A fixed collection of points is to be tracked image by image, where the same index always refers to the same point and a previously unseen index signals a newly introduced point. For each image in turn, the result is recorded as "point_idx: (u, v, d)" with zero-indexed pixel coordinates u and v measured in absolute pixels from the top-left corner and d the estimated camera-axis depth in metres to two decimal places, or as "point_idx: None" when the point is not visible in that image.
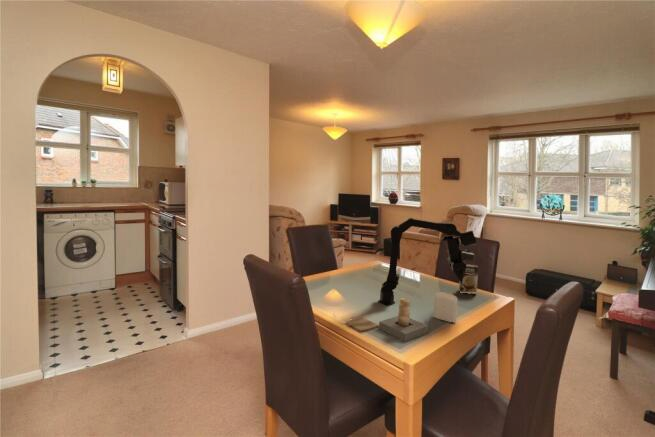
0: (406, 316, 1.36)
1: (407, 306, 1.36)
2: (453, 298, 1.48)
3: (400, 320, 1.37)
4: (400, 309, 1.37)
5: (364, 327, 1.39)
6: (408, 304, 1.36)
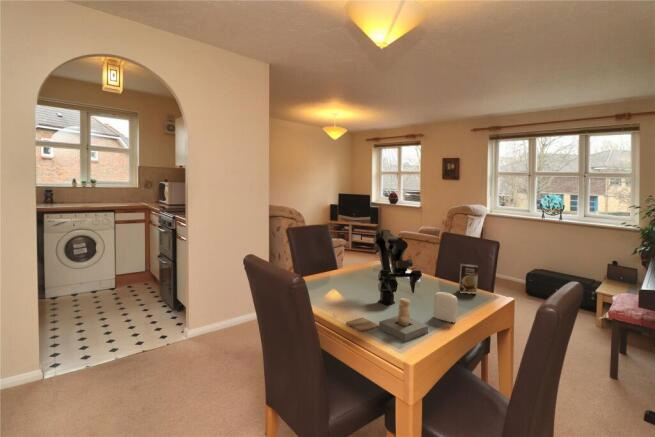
0: (406, 316, 1.36)
1: (407, 306, 1.36)
2: (453, 298, 1.48)
3: (400, 320, 1.37)
4: (400, 309, 1.37)
5: (364, 327, 1.39)
6: (408, 304, 1.36)
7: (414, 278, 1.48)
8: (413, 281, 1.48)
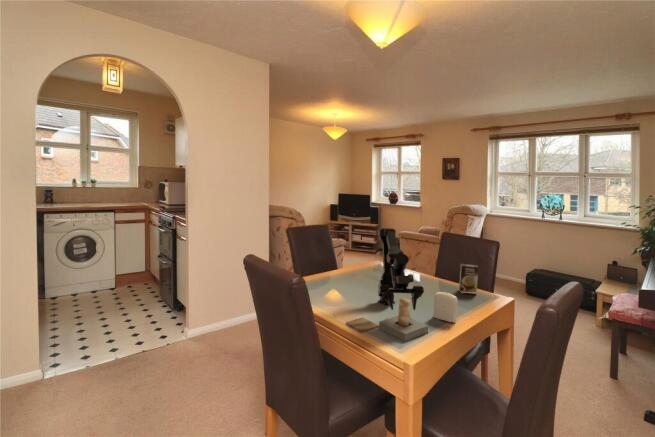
0: (406, 316, 1.36)
1: (407, 306, 1.36)
2: (453, 298, 1.48)
3: (400, 320, 1.37)
4: (400, 309, 1.37)
5: (364, 327, 1.39)
6: (408, 304, 1.36)
7: (415, 294, 1.41)
8: (414, 297, 1.41)
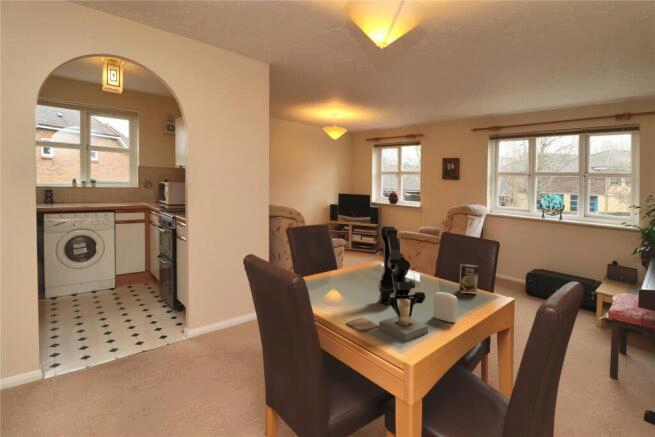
0: (406, 316, 1.36)
1: (407, 306, 1.36)
2: (453, 298, 1.48)
3: (400, 320, 1.37)
4: (400, 309, 1.37)
5: (364, 327, 1.39)
6: (408, 304, 1.36)
7: (412, 301, 1.39)
8: (411, 304, 1.39)
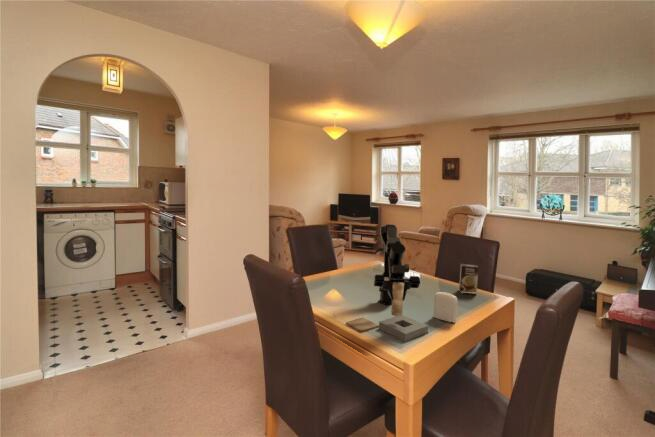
0: (399, 299, 1.35)
1: (400, 289, 1.35)
2: (453, 298, 1.48)
3: (393, 303, 1.36)
4: (393, 292, 1.36)
5: (364, 327, 1.39)
6: (401, 287, 1.35)
7: (406, 284, 1.38)
8: (405, 287, 1.38)
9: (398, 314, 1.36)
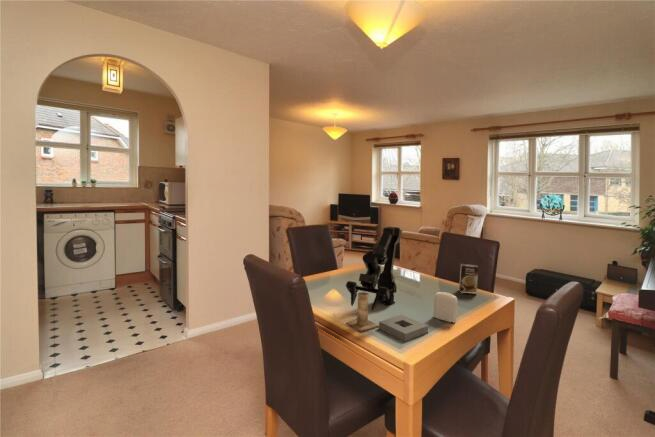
0: (361, 309, 1.40)
1: (362, 299, 1.39)
2: (453, 298, 1.48)
3: None
4: (358, 302, 1.41)
5: (364, 327, 1.39)
6: (364, 298, 1.39)
7: (377, 295, 1.40)
8: (376, 298, 1.40)
9: (361, 323, 1.40)
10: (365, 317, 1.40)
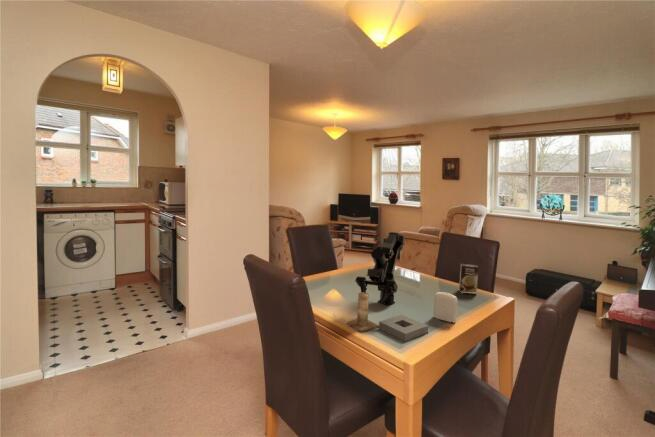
0: (362, 309, 1.40)
1: (363, 300, 1.39)
2: (453, 298, 1.48)
3: None
4: (358, 302, 1.41)
5: (364, 327, 1.39)
6: (364, 298, 1.39)
7: (385, 288, 1.47)
8: (384, 291, 1.48)
9: (361, 323, 1.40)
10: (365, 317, 1.40)
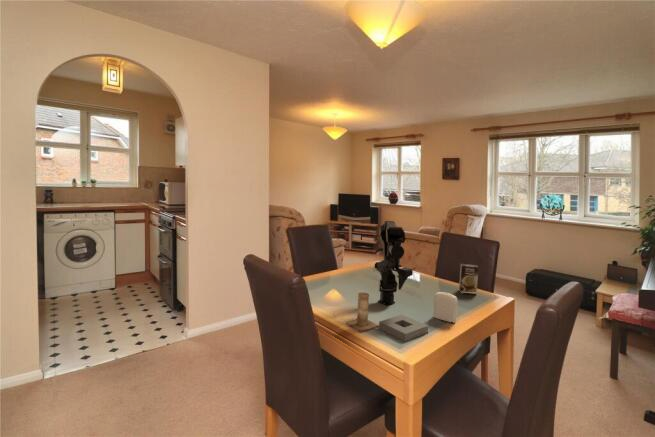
0: (362, 309, 1.40)
1: (363, 300, 1.39)
2: (453, 298, 1.48)
3: None
4: (358, 302, 1.41)
5: (364, 327, 1.39)
6: (364, 298, 1.39)
7: (399, 277, 1.49)
8: (399, 279, 1.50)
9: (361, 324, 1.40)
10: (365, 317, 1.40)
